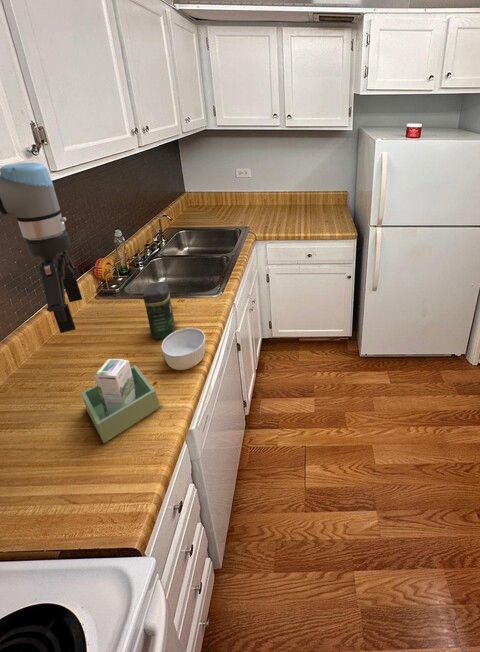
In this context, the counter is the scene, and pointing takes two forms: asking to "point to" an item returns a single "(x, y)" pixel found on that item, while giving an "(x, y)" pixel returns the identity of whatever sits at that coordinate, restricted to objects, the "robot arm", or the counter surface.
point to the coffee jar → (159, 310)
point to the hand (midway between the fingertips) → (72, 314)
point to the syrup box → (115, 385)
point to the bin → (125, 415)
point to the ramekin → (184, 348)
